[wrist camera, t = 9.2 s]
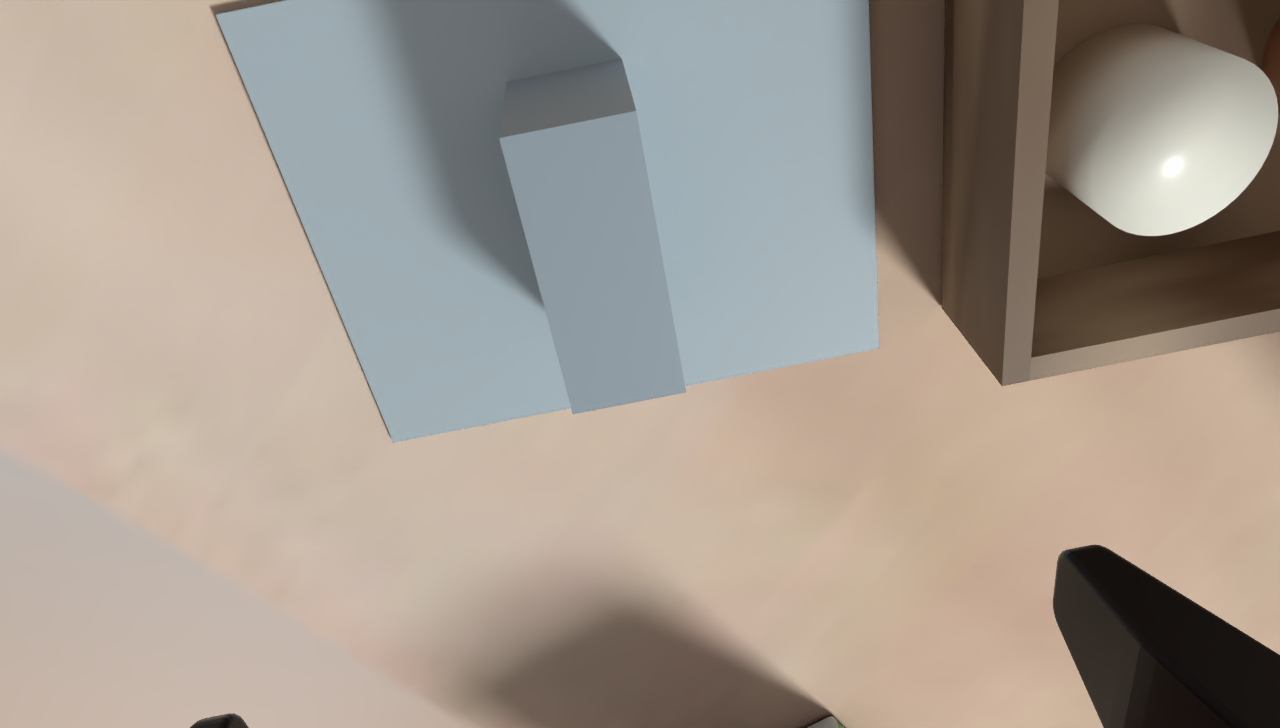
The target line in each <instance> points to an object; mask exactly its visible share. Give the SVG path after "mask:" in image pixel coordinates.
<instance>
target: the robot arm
mask: <svg viewBox="0 0 1280 728" xmlns="http://www.w3.org/2000/svg"><path fill="white" fill-rule="evenodd" d="M1053 610H1054V614H1055V618H1056V621H1057V624H1058V626H1059V629H1060V631H1061V633H1062V635H1063V637H1064V640H1065V642H1066V644H1067V646H1068V649H1069V651H1070V653H1071V655H1072V658H1073V660H1074V662H1075V664H1076V667H1077V669H1078V671H1079V673H1080V676H1081V678H1082V680H1083V682H1084V685H1085V687H1086V689H1087V691H1088V694H1089V696H1090V698H1091V700H1092V702H1093V705H1094V707H1095V709H1096V711H1097V714H1098V716H1099V718H1100V720H1101V723H1102V725H1103V727H1104V728H1280V655H1279V654H1277V653H1276V652H1274V651H1272V650H1271V649H1269V648H1268V647H1266V646H1264V645H1263V644H1261V643H1260V642H1258V641H1256V640H1255V639H1253V638H1251V637H1250V636H1248V635H1247V634H1245V633H1243V632H1242V631H1240V630H1239V629H1237V628H1235V627H1234V626H1232V625H1230V624H1229V623H1227V622H1226V621H1224V620H1222V619H1221V618H1219V617H1218V616H1216V615H1214V614H1213V613H1211V612H1209V611H1208V610H1206V609H1205V608H1203V607H1201V606H1200V605H1198V604H1197V603H1195V602H1193V601H1192V600H1190V599H1188V598H1187V597H1185V596H1184V595H1182V594H1180V593H1179V592H1177V591H1176V590H1174V589H1172V588H1171V587H1169V586H1167V585H1166V584H1164V583H1163V582H1161V581H1159V580H1158V579H1156V578H1155V577H1153V576H1151V575H1150V574H1148V573H1146V572H1145V571H1143V570H1142V569H1140V568H1138V567H1137V566H1135V565H1134V564H1132V563H1130V562H1129V561H1127V560H1125V559H1124V558H1122V557H1121V556H1119V555H1117V554H1116V553H1114V552H1113V551H1111V550H1109V549H1107V548H1106V547H1103V546H1100V545H1089V546H1084V547H1079V548H1074V549H1068V550H1065V551H1063V552H1062V553H1061V554H1060V555H1059V557H1058V561H1057V569H1056V578H1055V587H1054V596H1053ZM190 728H248V726H247V725H246V723H245V722H244V720H243V719H242V718H241V717H240V716H238V715H236V714H225V715H220V716H214V717H210V718H205V719H202V720H199V721H197V722H196V723H195V724H194V725H192V726H191V727H190Z"/></svg>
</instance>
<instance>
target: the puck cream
mask: <svg viewBox="0 0 1280 728" xmlns="http://www.w3.org/2000/svg"><path fill="white" fill-rule="evenodd" d="M1277 123H1278V103H1277V97H1276V94H1275V91H1274V88H1273V86H1272V84H1271V82H1270V80H1269V78H1268V77H1267V76H1266V75H1265V73H1264V72H1263V71H1262V70H1261V69H1260V68H1258V67H1257V66H1256V65H1255V64H1253V63H1251V62H1249V61H1247V60H1246V59H1243V58H1240V57H1238V56H1235V55H1233V54H1230V53H1227V52H1225V51H1222V50H1220V49H1217V48H1214V47H1212V46H1209V45H1207V44H1204V43H1201V42H1199V41H1196V40H1193V39H1191V38H1188V37H1186V36H1183V35H1180V34H1178V33H1175V32H1173V31H1170V30H1167V29H1165V28H1162V27H1159V26H1156V25H1152V24H1146V23H1130V24H1123V25H1118V26H1115V27H1111V28H1108V29H1106V30H1103V31H1101V32H1098V33H1097V34H1095V35H1093V36H1091V37H1089V38H1087V39H1086V40H1084V41H1083V42H1081V43H1080V44H1078V45H1077V46H1076V47H1075V48H1073V49H1072V50H1071V51H1070V52H1069V53H1067V54H1066V55H1065V56H1064V57H1063V58H1062V60H1061V61H1060V62H1059V63H1058V64H1057V65H1056V66H1055V68H1054V69H1053V82H1052V95H1051V108H1050V121H1049V134H1048V147H1047V159H1046V172H1045V173H1046V174H1047V175H1048V176H1049V177H1051V178H1052V179H1053V180H1054V181H1056V182H1057V183H1058V184H1060V185H1061V186H1062V187H1064V188H1065V189H1066V190H1068V191H1069V192H1070V193H1072V194H1073V195H1074V196H1075V197H1077V198H1078V199H1079V200H1081V201H1082V202H1083V203H1085V204H1086V205H1087V206H1089V207H1090V208H1091V209H1093V210H1094V211H1095V212H1096V213H1098V214H1099V215H1100V216H1102V217H1103V218H1104V219H1106V220H1107V221H1108V222H1110V223H1111V224H1112V225H1114V226H1115V227H1117V228H1118V229H1121V230H1123V231H1125V232H1128V233H1131V234H1135V235H1142V236H1161V235H1168V234H1173V233H1176V232H1180V231H1183V230H1186V229H1189V228H1191V227H1194V226H1196V225H1198V224H1200V223H1202V222H1204V221H1206V220H1207V219H1209V218H1211V217H1212V216H1214V215H1216V214H1217V213H1218V212H1220V211H1221V210H1223V209H1224V208H1225V207H1227V206H1228V205H1229V204H1230V203H1231V202H1232V201H1234V200H1235V199H1236V198H1237V197H1238V196H1239V195H1240V194H1241V193H1242V192H1243V191H1244V190H1245V189H1246V187H1247V186H1248V185H1249V184H1250V182H1251V181H1252V180H1253V179H1254V177H1255V176H1256V175H1257V173H1258V172H1259V170H1260V169H1261V167H1262V165H1263V163H1264V162H1265V160H1266V158H1267V156H1268V154H1269V151H1270V149H1271V146H1272V144H1273V141H1274V137H1275V134H1276V129H1277Z"/></svg>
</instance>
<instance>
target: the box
mask: <svg viewBox="0 0 1280 728" xmlns="http://www.w3.org/2000/svg"><path fill="white" fill-rule="evenodd" d="M1279 17H1280V0H945V58H944V148H943V237H942V309H943V310H944V311H945V313H946V314H947V315H948V317H949V318H950V319H951V320H952V322H953V323H954V324H955V326H956V327H957V328H958V330H959V331H960V332H961V333H962V335H963V336H964V337H965V339H966V340H967V341H968V343H969V344H970V345H971V346H972V348H973V349H974V350H975V352H976V353H977V354H978V356H979V357H980V358H981V359H982V361H983V362H984V363H985V365H986V366H987V367H988V369H989V370H990V371H991V372H992V374H993V375H994V376H995V378H996V379H997V380H998V382H999V383H1000V384H1001V385H1002V386H1005V385H1010V384H1015V383H1020V382H1025V381H1030V380H1035V379H1040V378H1045V377H1050V376H1055V375H1061V374H1066V373H1071V372H1076V371H1081V370H1086V369H1091V368H1096V367H1101V366H1106V365H1111V364H1116V363H1121V362H1126V361H1131V360H1136V359H1142V358H1147V357H1152V356H1157V355H1162V354H1167V353H1172V352H1177V351H1182V350H1187V349H1192V348H1197V347H1202V346H1207V345H1212V344H1218V343H1223V342H1228V341H1233V340H1238V339H1243V338H1248V337H1253V336H1258V335H1263V334H1268V333H1273V332H1278V331H1280V114H1279V113H1278V123H1277V129H1276V134H1275V137H1274V141H1273V144H1272V146H1271V149H1270V151H1269V154H1268V156H1267V158H1266V160H1265V162H1264V163H1263V165H1262V167H1261V169H1260V170H1259V172H1258V173H1257V175H1256V176H1255V177H1254V179H1253V180H1252V181H1251V182H1250V184H1249V185H1248V186H1247V187H1246V189H1245V190H1244V191H1243V192H1242V193H1241V194H1240V195H1239V196H1238V197H1237V198H1236V199H1235V200H1234V201H1232V202H1231V203H1230V204H1229V205H1228V206H1227V207H1225V208H1224V209H1223V210H1221V211H1220V212H1218V213H1217V214H1216V215H1214V216H1212V217H1211V218H1209V219H1207V220H1206V221H1204V222H1202V223H1200V224H1198V225H1196V226H1194V227H1191V228H1189V229H1186V230H1183V231H1180V232H1176V233H1173V234H1168V235H1161V236H1142V235H1135V234H1131V233H1128V232H1125V231H1123V230H1121V229H1118V228H1117V227H1115V226H1114V225H1112V224H1111V223H1110V222H1108V221H1107V220H1106V219H1104V218H1103V217H1102V216H1100V215H1099V214H1098V213H1096V212H1095V211H1094V210H1093V209H1091V208H1090V207H1089V206H1087V205H1086V204H1085V203H1083V202H1082V201H1081V200H1079V199H1078V198H1077V197H1075V196H1074V195H1073V194H1072V193H1070V192H1069V191H1068V190H1066V189H1065V188H1064V187H1062V186H1061V185H1060V184H1058V183H1057V182H1056V181H1054V180H1053V179H1052V178H1051V177H1049V176H1048V175H1047V174H1046V173H1045V172H1046V159H1047V147H1048V134H1049V121H1050V108H1051V95H1052V82H1053V69H1054V68H1055V66H1056V65H1057V64H1058V63H1059V62H1060V61H1061V60H1062V58H1063V57H1064V56H1065V55H1066V54H1067V53H1069V52H1070V51H1071V50H1072V49H1073V48H1075V47H1076V46H1077V45H1078V44H1080V43H1081V42H1083V41H1084V40H1086V39H1087V38H1089V37H1091V36H1093V35H1095V34H1097V33H1098V32H1101V31H1103V30H1106V29H1108V28H1111V27H1115V26H1118V25H1123V24H1130V23H1146V24H1152V25H1156V26H1159V27H1162V28H1165V29H1167V30H1170V31H1173V32H1175V33H1178V34H1180V35H1183V36H1186V37H1188V38H1191V39H1193V40H1196V41H1199V42H1201V43H1204V44H1207V45H1209V46H1212V47H1214V48H1217V49H1220V50H1222V51H1225V52H1227V53H1230V54H1233V55H1235V56H1238V57H1240V58H1243V59H1246V60H1247V61H1249V62H1251V63H1253V64H1255V65H1256V66H1257V67H1258V68H1260V69H1261V67H1262V60H1263V55H1264V51H1265V47H1266V44H1267V41H1268V39H1269V36H1270V34H1271V32H1272V30H1273V28H1274V26H1275V24H1276V22H1277V20H1278V19H1279Z"/></svg>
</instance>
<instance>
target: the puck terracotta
mask: <svg viewBox="0 0 1280 728" xmlns="http://www.w3.org/2000/svg"><path fill="white" fill-rule="evenodd" d="M1261 70H1262V71H1263V72H1264V73H1265V75H1266V76H1267V77H1268V78H1269V80H1270V82H1271V84H1272V86H1273V88H1274V91H1275V94H1276V97H1277V103H1278V113H1279V114H1280V17H1279V19H1278V20H1277V22H1276V24H1275V26H1274V28H1273V30H1272V32H1271V34H1270V36H1269V39H1268V41H1267V44H1266V47H1265V51H1264V55H1263V60H1262V67H1261Z"/></svg>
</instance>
